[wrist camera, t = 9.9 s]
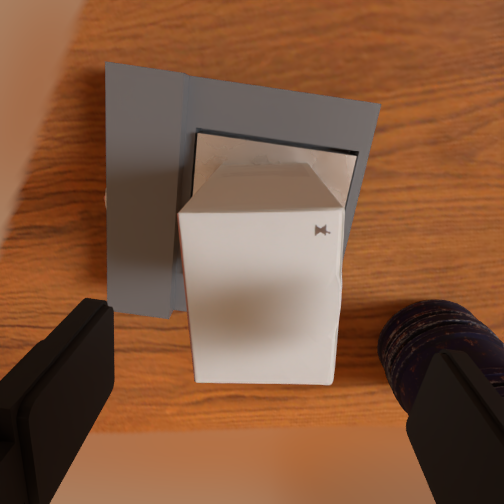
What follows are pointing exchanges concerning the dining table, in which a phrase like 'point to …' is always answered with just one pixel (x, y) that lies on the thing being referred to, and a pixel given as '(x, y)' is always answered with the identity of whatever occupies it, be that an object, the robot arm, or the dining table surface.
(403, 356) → the navy cylindrical canister
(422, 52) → the dining table surface
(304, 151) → the pan
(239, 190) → the small box
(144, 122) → the scale
